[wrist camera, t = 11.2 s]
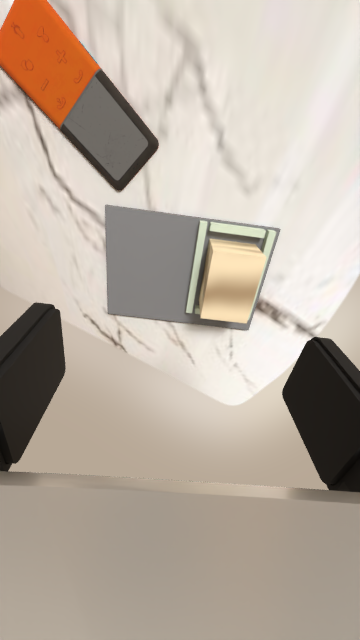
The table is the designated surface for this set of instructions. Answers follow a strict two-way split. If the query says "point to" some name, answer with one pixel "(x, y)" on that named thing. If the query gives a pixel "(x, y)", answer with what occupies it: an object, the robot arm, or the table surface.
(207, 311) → the card box
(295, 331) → the table surface
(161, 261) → the mat
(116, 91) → the phone
